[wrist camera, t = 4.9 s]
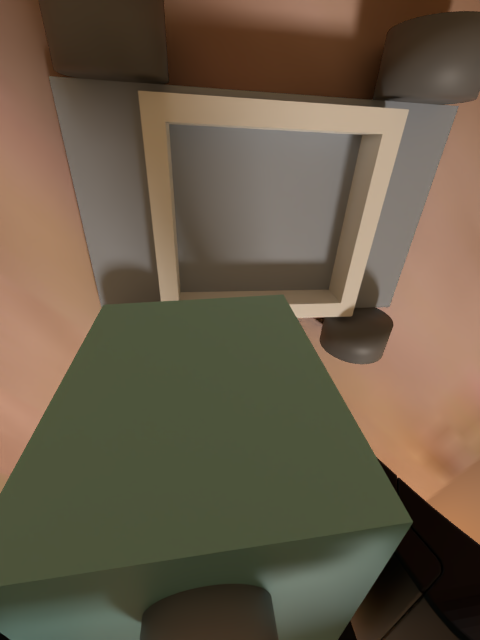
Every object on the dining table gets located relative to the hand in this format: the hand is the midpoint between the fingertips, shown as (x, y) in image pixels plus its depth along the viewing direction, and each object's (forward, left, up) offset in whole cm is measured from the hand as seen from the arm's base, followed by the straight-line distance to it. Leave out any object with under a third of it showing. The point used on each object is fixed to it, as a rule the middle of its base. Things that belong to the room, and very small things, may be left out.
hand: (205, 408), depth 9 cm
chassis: (+3, -4, -12) cm, 13 cm away
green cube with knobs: (0, 0, -1) cm, 1 cm away
